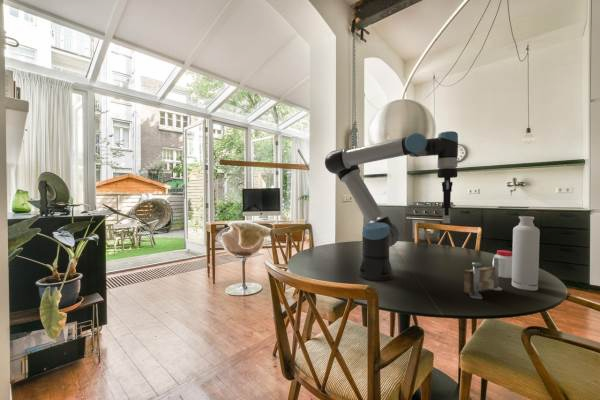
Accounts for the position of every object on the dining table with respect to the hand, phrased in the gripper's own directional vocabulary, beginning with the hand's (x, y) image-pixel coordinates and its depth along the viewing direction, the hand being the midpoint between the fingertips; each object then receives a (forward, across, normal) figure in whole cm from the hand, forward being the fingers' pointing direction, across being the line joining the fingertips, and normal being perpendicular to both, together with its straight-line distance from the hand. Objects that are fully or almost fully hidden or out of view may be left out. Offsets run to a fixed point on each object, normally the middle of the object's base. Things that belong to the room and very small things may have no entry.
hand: (446, 222), depth 117 cm
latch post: (+24, -18, -9) cm, 32 cm away
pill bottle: (+25, +16, -24) cm, 38 cm away
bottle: (+25, +2, -28) cm, 37 cm away
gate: (+23, -12, -11) cm, 29 cm away
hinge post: (+24, -6, -17) cm, 30 cm away
